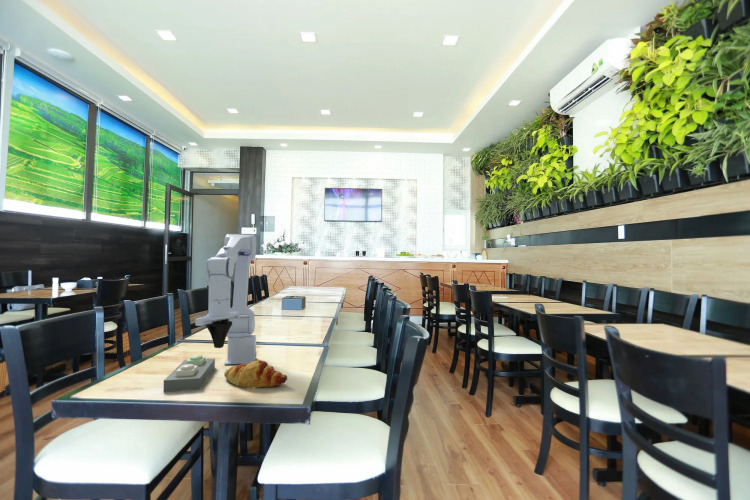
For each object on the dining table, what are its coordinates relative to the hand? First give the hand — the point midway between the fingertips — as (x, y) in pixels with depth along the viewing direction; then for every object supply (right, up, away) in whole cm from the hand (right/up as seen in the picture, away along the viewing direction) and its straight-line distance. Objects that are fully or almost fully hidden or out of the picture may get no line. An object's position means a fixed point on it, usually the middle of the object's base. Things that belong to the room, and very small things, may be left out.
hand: (218, 347), depth 104 cm
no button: (-9, -9, 0) cm, 13 cm away
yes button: (-11, -9, +10) cm, 17 cm away
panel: (-10, -11, +5) cm, 15 cm away
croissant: (+10, -11, +2) cm, 15 cm away
